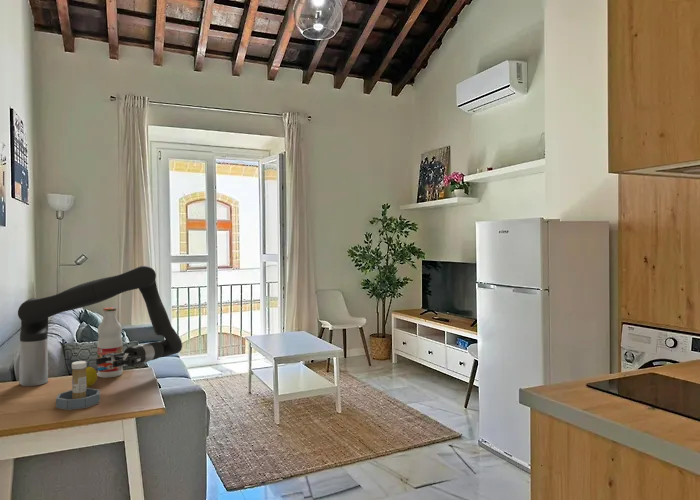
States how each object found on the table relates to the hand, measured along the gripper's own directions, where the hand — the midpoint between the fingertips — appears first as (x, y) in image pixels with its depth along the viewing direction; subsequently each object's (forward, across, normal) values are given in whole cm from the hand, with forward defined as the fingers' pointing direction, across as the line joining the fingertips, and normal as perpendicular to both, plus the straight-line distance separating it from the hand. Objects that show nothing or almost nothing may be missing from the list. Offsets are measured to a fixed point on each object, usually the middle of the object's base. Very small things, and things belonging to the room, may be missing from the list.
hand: (105, 363), depth 190 cm
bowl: (+11, +1, +11) cm, 16 cm away
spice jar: (+11, +1, +11) cm, 16 cm away
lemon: (-4, -12, +12) cm, 17 cm away
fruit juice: (-20, -20, +12) cm, 30 cm away
